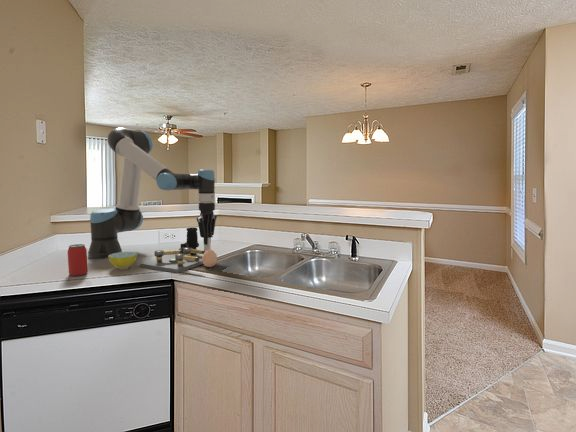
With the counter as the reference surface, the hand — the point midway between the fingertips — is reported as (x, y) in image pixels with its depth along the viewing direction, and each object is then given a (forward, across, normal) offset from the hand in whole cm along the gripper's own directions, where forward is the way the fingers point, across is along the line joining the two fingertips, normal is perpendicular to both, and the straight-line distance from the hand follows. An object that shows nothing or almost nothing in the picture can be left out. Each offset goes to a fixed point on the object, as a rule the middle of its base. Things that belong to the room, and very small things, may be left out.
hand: (207, 250), depth 163 cm
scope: (+5, +7, +16) cm, 18 cm away
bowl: (+5, -28, +24) cm, 37 cm away
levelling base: (+5, -13, +9) cm, 16 cm away
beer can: (+5, -42, +33) cm, 54 cm away
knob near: (+3, -14, +11) cm, 18 cm away
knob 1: (+3, -6, +3) cm, 7 cm away
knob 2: (+3, -18, -3) cm, 18 cm away
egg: (+5, -9, -8) cm, 13 cm away
